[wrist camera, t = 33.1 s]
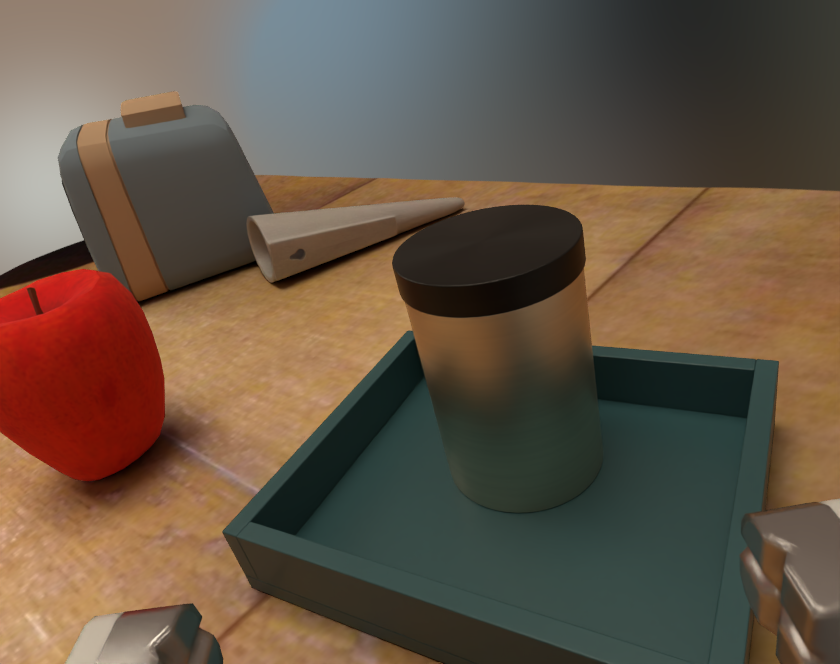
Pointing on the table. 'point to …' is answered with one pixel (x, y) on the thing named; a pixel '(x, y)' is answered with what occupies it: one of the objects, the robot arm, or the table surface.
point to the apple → (79, 374)
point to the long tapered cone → (333, 232)
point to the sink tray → (529, 523)
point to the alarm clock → (161, 194)
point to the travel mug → (507, 352)
